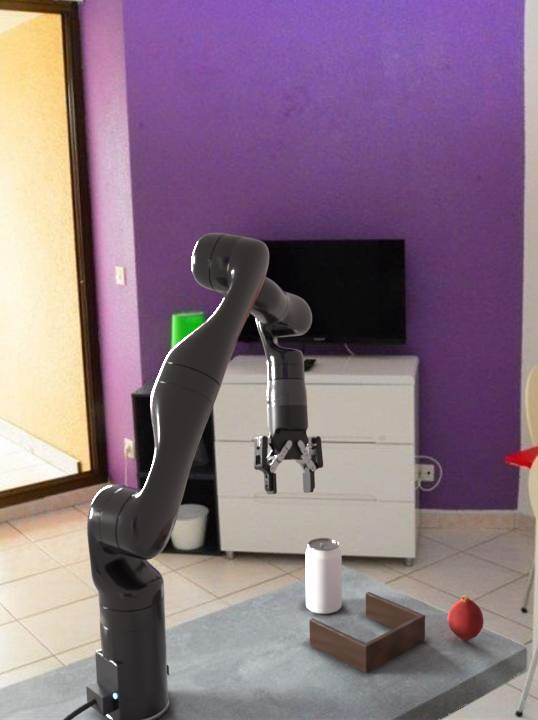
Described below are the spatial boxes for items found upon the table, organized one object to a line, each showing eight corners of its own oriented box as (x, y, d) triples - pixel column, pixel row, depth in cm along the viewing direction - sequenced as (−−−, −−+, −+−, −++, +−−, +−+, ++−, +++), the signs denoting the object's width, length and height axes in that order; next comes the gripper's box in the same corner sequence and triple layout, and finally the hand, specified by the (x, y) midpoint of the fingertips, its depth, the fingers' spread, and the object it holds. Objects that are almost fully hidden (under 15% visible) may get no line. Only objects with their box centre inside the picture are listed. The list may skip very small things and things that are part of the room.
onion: (462, 628, 155) (463, 584, 153) (489, 640, 150) (491, 595, 149) (440, 640, 151) (441, 595, 149) (468, 653, 146) (469, 606, 145)
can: (342, 599, 166) (342, 537, 164) (340, 616, 159) (340, 551, 157) (307, 598, 166) (307, 536, 164) (304, 614, 160) (303, 550, 158)
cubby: (366, 673, 141) (366, 646, 140) (309, 644, 150) (309, 619, 149) (425, 640, 151) (425, 615, 150) (368, 615, 160) (368, 591, 159)
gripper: (268, 402, 161) (271, 494, 159) (329, 404, 170) (333, 491, 167) (244, 406, 167) (246, 495, 164) (304, 407, 176) (308, 492, 173)
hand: (290, 493), depth 166 cm, fingers open, 8 cm apart
